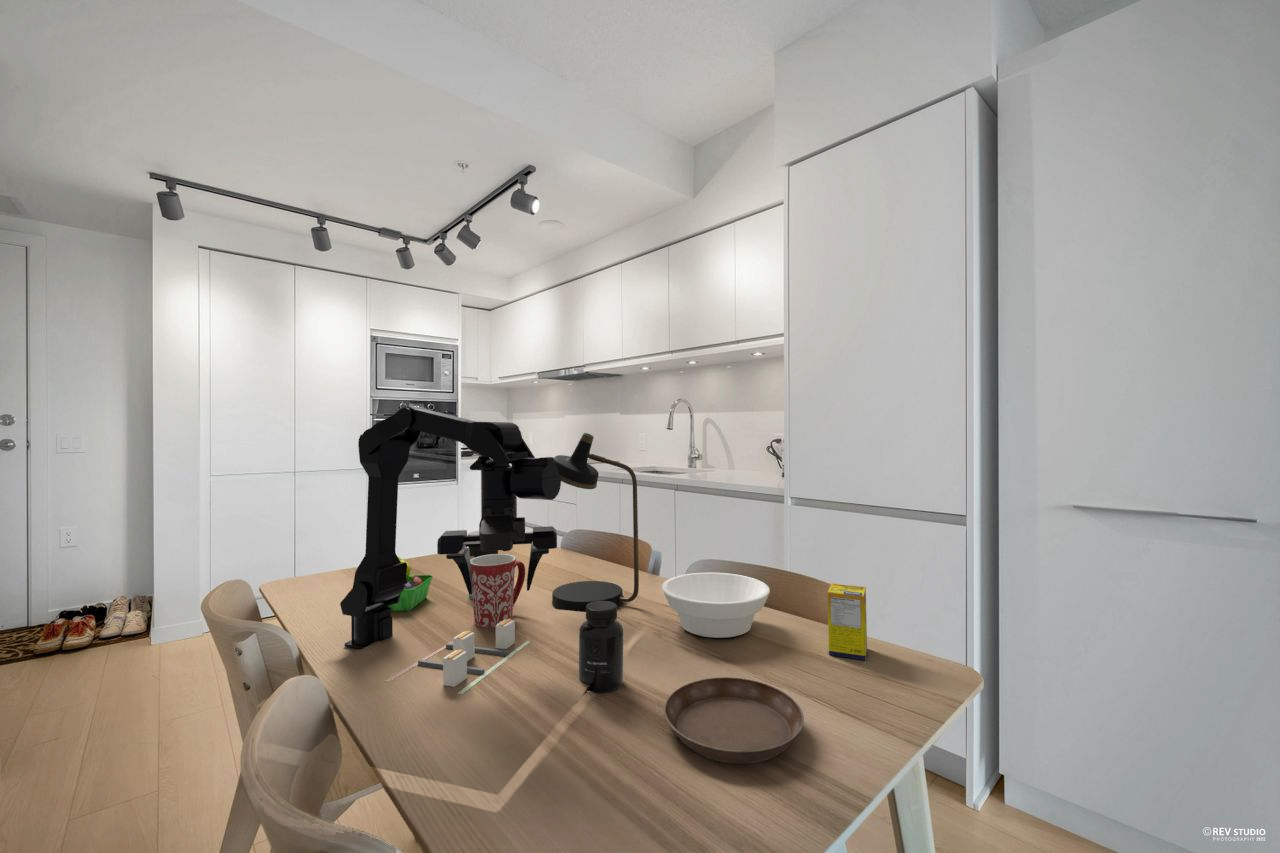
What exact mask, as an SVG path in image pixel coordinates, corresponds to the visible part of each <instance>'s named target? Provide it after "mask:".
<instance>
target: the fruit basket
mask: <svg viewBox="0 0 1280 853" xmlns="http://www.w3.org/2000/svg"><path fill="white" fill-rule="evenodd" d="M397 557H398V558H399V560H400V561H401V562H406V563H407V572H406V579H407V584H405V586H404V590H403V592H401V595H400V599H399V602H398V603H397V604H393V605H391V606H388V607H391V611H394V612H395V611H411V610H413V609H414V608H415V607H417V606H418V605H419V604H421V603H422V602H423V601H424V600H425V598H426V599H427V598H428V594H429V589H430V585H431V582H432V580H433V575H432V574H410V573H411V570H412V567H411V565H410V563H409V562H407V561H406V560H404V559H402V558H401V557H400V556H398V555H397ZM418 603H419V604H418Z"/></svg>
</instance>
